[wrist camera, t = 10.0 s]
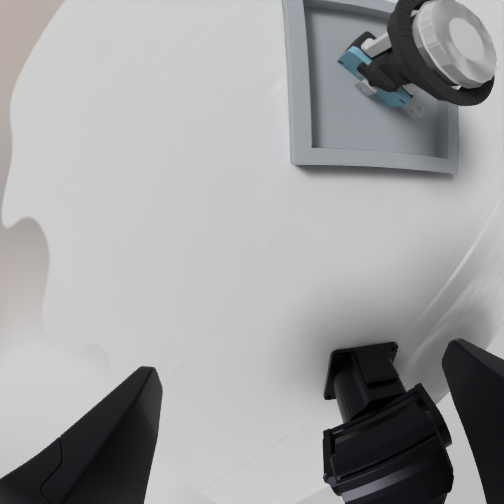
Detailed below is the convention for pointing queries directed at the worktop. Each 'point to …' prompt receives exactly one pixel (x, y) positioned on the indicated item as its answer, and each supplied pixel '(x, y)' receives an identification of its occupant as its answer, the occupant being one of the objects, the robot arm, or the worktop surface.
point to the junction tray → (355, 96)
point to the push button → (425, 56)
